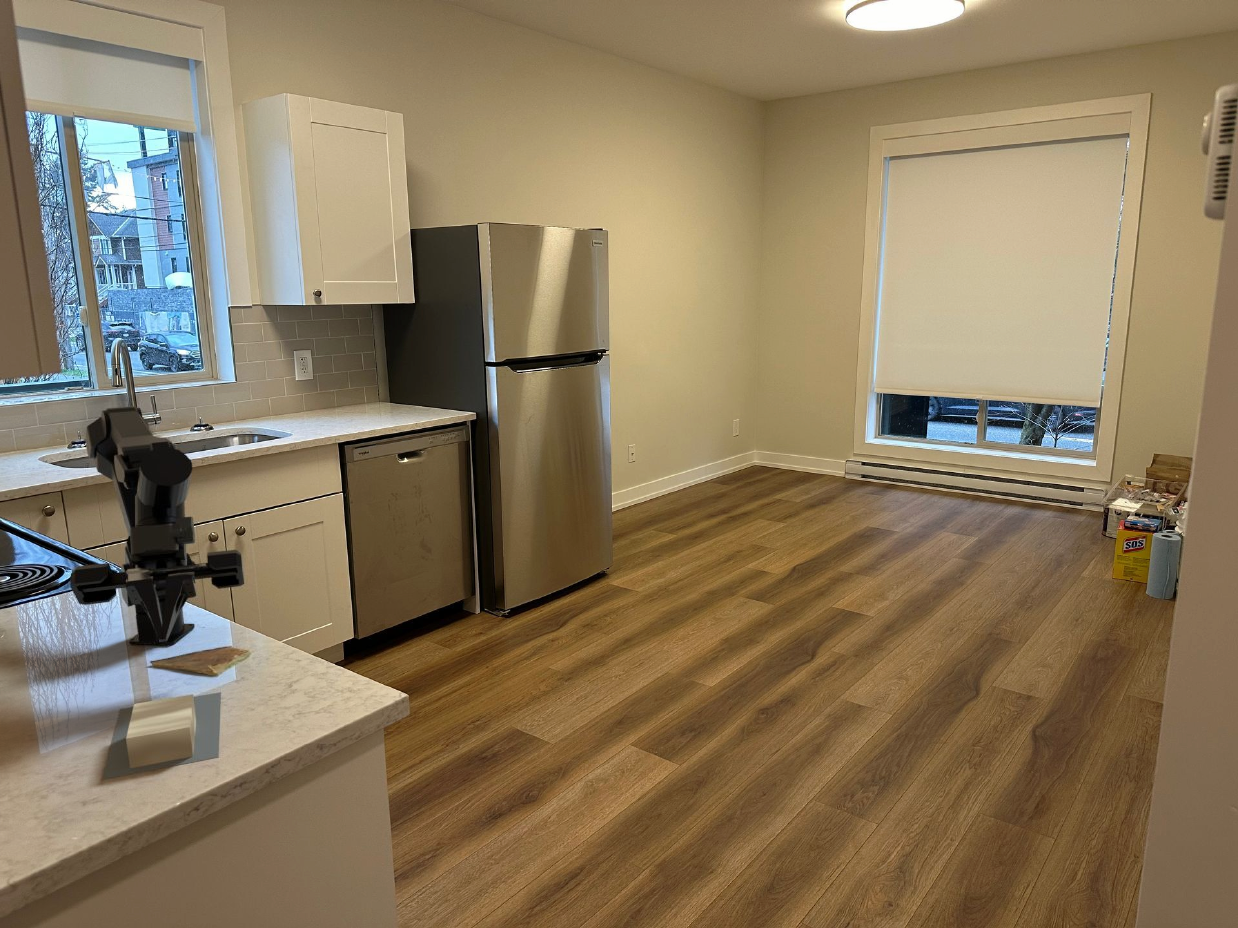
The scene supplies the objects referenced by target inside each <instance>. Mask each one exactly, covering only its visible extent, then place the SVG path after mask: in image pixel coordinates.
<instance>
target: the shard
mask: <svg viewBox="0 0 1238 928" xmlns="http://www.w3.org/2000/svg"><path fill="white" fill-rule="evenodd" d="M251 654H252V650H250V649H245V648H238V647H234V646H232V645H228V646H221V647H215V648H211V649H204V650H198V651H194V652H193V651H192V652H189V653H183V654H179V655H175V656H171V657H167V658H161V659H156V660H150V661H149V663H150V664H151V665H152V666H153V667H157V668H158V667H159V668H169V669H176V670H177V669H178V670H180V671H187V672H188V671H189V672H192V673H198V674H205V675H208V676H209V675H210V676H214V677H215V676H216V677H219V676H221V675H222V674H224V673H225V672H226V671H228V670H230V669H231V668H234V667H235V666H236V665H238V664H240V663H242V662H244V661H245V660H246V659H248V658H250V657H251Z"/></svg>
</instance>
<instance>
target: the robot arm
mask: <svg viewBox="0 0 1238 928" xmlns="http://www.w3.org/2000/svg"><path fill="white" fill-rule="evenodd" d="M100 413H101V414H100V417H98V418H97V419H96V420H94V421H93V422H92V423H90V424H88V425H87V426H86V432H85V445H86V446H85V447H86V454H87V456H88V459H89V460H91V459H92V460H93V463H94V465H95V468H96V471H97V473H99V474H100V475H103V476H105V477H106V478H107V479H109V480H111V481H112V483H113V486H114V487H113V488H114V490H115V493H116V498H117V501H118V503H119V507H120V511H121V515H122V517H123V521H124V525H125V528H126V532H127V534H128V536H127V539H126V545H125V547H124V563H123V564H121V569H120V572H113V570H112V567H111V566H110V562H108V563H107V562H106V563H98V564H97V563H95V564H87V565H79V566H78V565H77V566H76V567H75V568H74V569H73V570H72V571H71V573H70V579H69V580H70V583H69V586H70V589H71V591H72V593H73V595H74V596H75V598H76V600H77V602H78V604H79V605H83V606H84V605H85V606H87V605H95V604H103V603H110V602H111V601H112V600H113V599H114V598H116V596H117V589H120V591H121V597H122V599H123V601H124V603H125V604H126V606H127V607H128V608H129V607H133V606H134V608H135V622H136V629H137V631H136V632H137V634H135V635H134V636H133V637H130V638H129V639H128V644H129V645H165V646H166V645H168V646H169V645H170V646H171V645H174V644H175V643H177V642H178V641H179V640H181V639H182V638H183V637H185V636H186V634H188V633H189V632H191V631H192V630H194V629H195V623H185V619H184V618H185V617H184V611H183V609H184V608H183V607H184V606H185V604H186V603H187V602H188V599H192V598H196V596H197V590H196V589H197V588H196V586H195V584H196V583H197V580H202V579H210V578H211V579H210V581H211V585H212V586H214V587H215V588H217V589H218V590H219V589H220V590H221V589H228V588H237V587H241V586H243V585H245V575H244V573H245V572H244V564H243V556H242V553H241V552H240V550H237V549H229V550H219V551H210V552H207V555H206V558H207V562H201V563H196V562H195V561H193V560H192V558H191V557H190V554H189V552H187V545H190V544H195V543H196V535H195V524H194V517H193V516H186V509H185V508H186V507H185V506H186V505H185V502H186V500H187V498H188V494H189V488H190V484H191V478H192V472H193V463H192V462H193V461H192V460H191V458H189V456H188V455H187V454H185V453H184V452H183V451H182V450H180V448H176V446H175V443H173V442H172V441H171V440H169V439H168V438H167V437H162V436H161V437H160V436H155V435H154V434H153V433H152V431H151V430H150V426H149V421H148V420H147V419H145V418H144V417H143V413H142V409H141V407H136V406H133V405H131V406H118V407H107V408H106V409H103V410H101V411H100Z"/></svg>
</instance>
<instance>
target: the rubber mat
mask: <svg viewBox="0 0 1238 928" xmlns="http://www.w3.org/2000/svg"><path fill="white" fill-rule="evenodd" d="M193 697H194V706H195V715H196V729H195V740H194V751H193V756H192V757H187V758H182V759H177V760H172V761H166V762H161V763H156V764H151V765H146V766H140V767H135V768H130V764H129V757H128V749H127V742H126V737H127V733H128V728H129V724H130V720H131V716H132V711H133V707H134V706H131V707H125V708H124V707H123V708H120V709H119V714H118V716H117V720H116V725H115V728H114V732H113V736H112V740H111V742H110V747H109V750H108V755H107V759H106V760H105V765H104V770H103V774H102V778H101V781H105V780H110V779H115V778H121V777H125V776H131V775H136V774H141V773H145V772H147V773H148V772H150V771H151V772H152V771H156V770H161V769H165V768H166V769H167V768H171V767H176V766H177V767H178V766H181V765H187V764H192V763H196V762H197V763H198V762H202V761H207V760H212V759H216V758H219V756H220V755H219V754H220V753H219V752H220V732H221V731H220V730H221V704H222V701H221V700H222V692H220V691H218V692H214V693H207V694H202V695H196V696H193Z"/></svg>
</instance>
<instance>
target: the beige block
mask: <svg viewBox="0 0 1238 928" xmlns="http://www.w3.org/2000/svg"><path fill="white" fill-rule="evenodd" d="M194 697H195V696H194V694H186V695H180V696H174V697H167V698H163V699H161V698H160V699H155V700H149V701H144V702H137V703H134V704H133V706H132V707H133V711H132V716H131V720H130V724H129V728H128V733H127V737H126V742H127V749H128V757H129V764H130V768H135V767H140V766H146V765H151V764H156V763H161V762H166V761H172V760H177V759H182V758H187V757H192V756H193V751H194V740H195V729H196V715H195V706H194Z"/></svg>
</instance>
